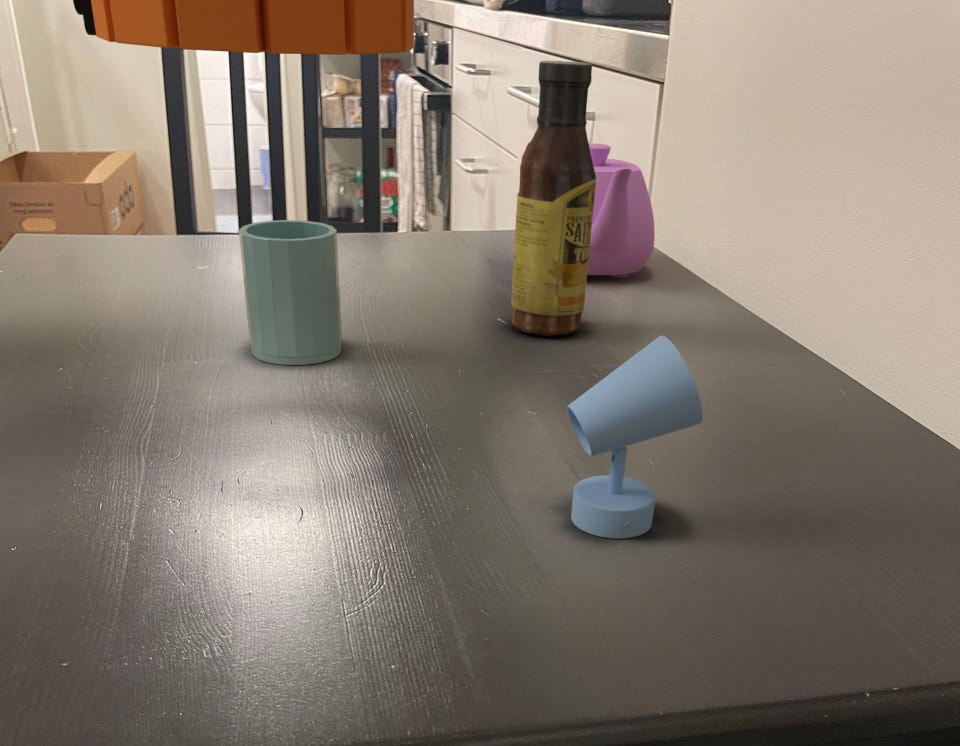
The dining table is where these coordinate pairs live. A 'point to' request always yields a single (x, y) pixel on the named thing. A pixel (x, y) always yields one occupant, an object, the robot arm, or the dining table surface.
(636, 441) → the spotlight
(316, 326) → the teal cup
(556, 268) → the sauce bottle
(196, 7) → the ring
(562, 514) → the dining table surface
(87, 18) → the robot arm
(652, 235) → the teapot
